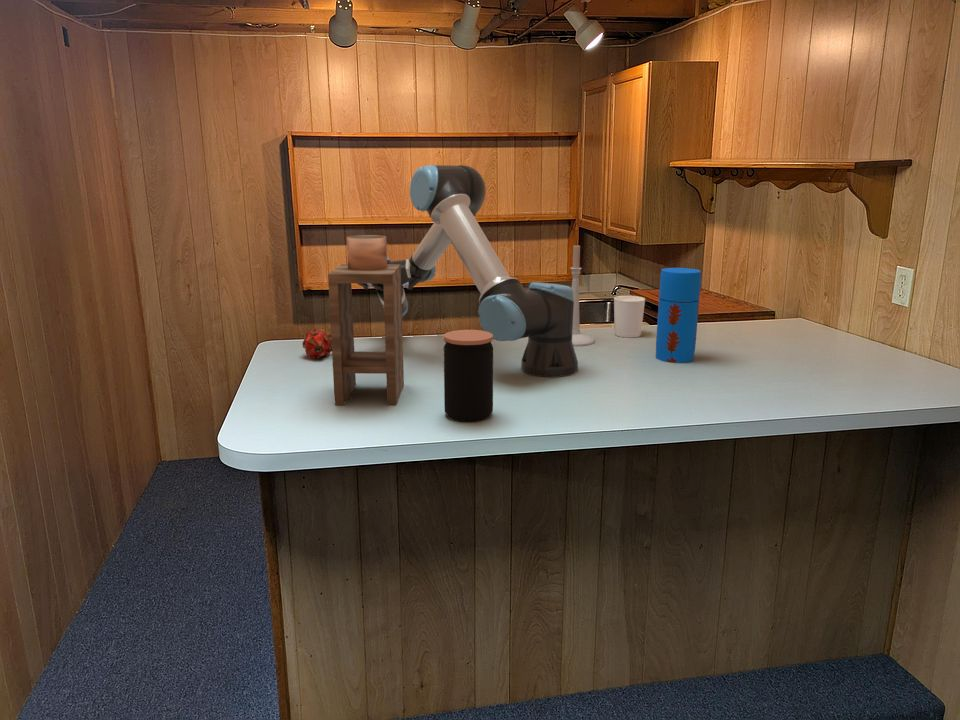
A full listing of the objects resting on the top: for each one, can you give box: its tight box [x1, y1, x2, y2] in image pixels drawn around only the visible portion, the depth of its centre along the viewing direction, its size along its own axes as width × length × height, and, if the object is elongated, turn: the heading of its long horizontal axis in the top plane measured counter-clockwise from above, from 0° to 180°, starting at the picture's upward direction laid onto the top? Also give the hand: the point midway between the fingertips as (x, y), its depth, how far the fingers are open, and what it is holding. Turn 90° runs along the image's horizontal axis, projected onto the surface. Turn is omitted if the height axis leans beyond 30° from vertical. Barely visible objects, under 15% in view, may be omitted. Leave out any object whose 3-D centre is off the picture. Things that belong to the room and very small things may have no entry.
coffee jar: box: [443, 329, 494, 423], centre depth 156 cm, size 11×11×18 cm
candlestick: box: [569, 245, 595, 347], centre depth 221 cm, size 13×13×30 cm
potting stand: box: [327, 263, 405, 406], centre depth 169 cm, size 16×14×30 cm
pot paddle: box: [346, 234, 388, 270], centre depth 175 cm, size 26×9×7 cm, turn 179°
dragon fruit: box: [302, 328, 332, 360], centre depth 206 cm, size 8×8×12 cm
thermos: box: [655, 267, 702, 364], centre depth 202 cm, size 11×11×25 cm
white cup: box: [613, 295, 646, 339], centre depth 232 cm, size 10×10×12 cm
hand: (381, 263), depth 190 cm, fingers open, 13 cm apart
